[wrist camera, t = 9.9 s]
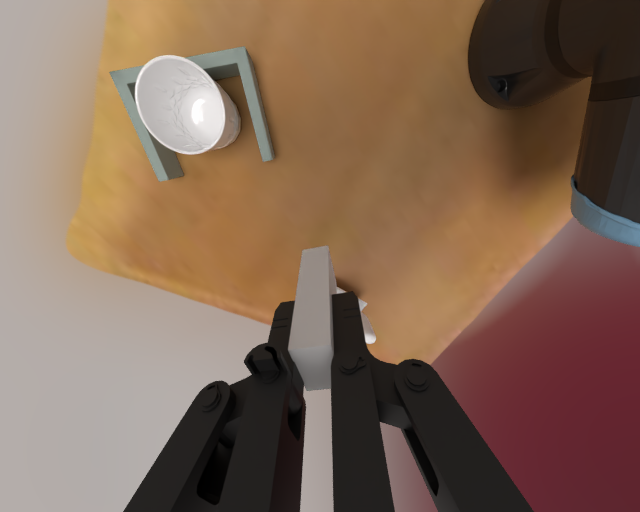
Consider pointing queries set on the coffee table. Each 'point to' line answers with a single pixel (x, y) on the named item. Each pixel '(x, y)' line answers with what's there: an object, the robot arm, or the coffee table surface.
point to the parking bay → (216, 68)
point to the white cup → (185, 106)
